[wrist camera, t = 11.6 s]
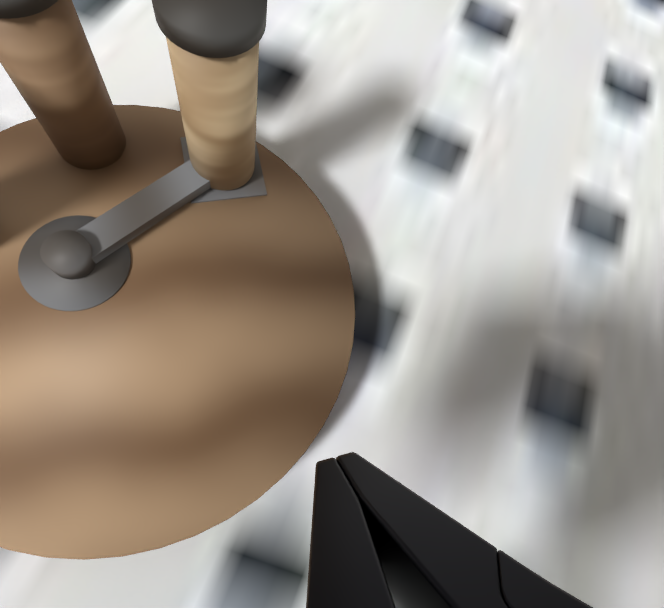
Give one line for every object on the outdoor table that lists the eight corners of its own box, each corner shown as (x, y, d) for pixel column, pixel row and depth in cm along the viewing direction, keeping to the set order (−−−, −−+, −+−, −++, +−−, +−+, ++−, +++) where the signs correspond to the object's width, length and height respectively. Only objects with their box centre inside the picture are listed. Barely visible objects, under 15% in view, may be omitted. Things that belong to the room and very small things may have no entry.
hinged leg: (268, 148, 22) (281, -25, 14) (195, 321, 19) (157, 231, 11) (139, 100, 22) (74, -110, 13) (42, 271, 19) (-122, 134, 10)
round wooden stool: (386, 474, 21) (524, 508, 11) (-108, 612, 17) (-724, 913, 6) (299, 124, 26) (337, -88, 16) (-102, 154, 22) (-437, -123, 11)
